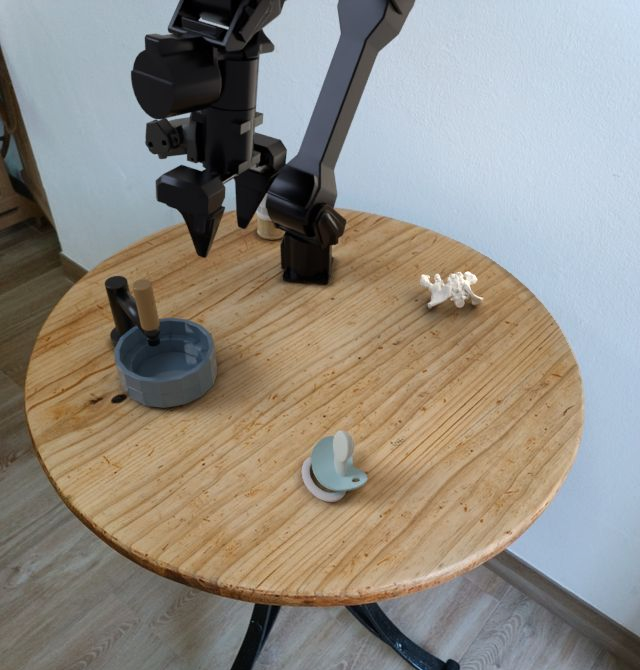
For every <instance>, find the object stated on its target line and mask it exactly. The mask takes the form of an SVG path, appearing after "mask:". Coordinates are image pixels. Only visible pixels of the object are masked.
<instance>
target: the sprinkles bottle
mask: <svg viewBox="0 0 640 670" xmlns="http://www.w3.org/2000/svg"><path fill="white" fill-rule="evenodd" d="M267 194H268V193H266V195H265V197H264V198H263V200H262V202H261V203H260V205H259V207H258V209H257V211H256V212H255V215H256V220H257V229H256V233H257V235H258V236H259V237H260V238H262V239H266V240H271V241H273V240H278V239H282V238H283V235H284V234H285V231H283V230H280V229H276V228H274V225H273V223H272V220H271V219H270V218H269V216H268V211H267V209H266V207H265V204H266V197H267Z"/></svg>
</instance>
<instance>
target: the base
mask: <svg viewBox="0 0 640 670" xmlns="http://www.w3.org/2000/svg"><path fill="white" fill-rule="evenodd" d="M109 338H110V340H111V345H112V346H113V348H115V347H116V345H117V343H118V341H119V339H120V337H119V336H118V335H117V331H116V327H113V328H112V329H111V331H110V334H109Z"/></svg>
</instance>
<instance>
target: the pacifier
mask: <svg viewBox="0 0 640 670" xmlns="http://www.w3.org/2000/svg"><path fill="white" fill-rule="evenodd" d="M354 451H355V440H354V438H353V436H352V435H351V434H350V433H349V432H348V431H346V430H338V431H336V432H335V434H334V435H328V436H325V437H323V438H321V439H320V440H319V441H317V442H316V444H315V445H314V446H313V448H312V451H311V454H310V455H311V456H308V457H307V458H306V459H305V460H304V461H303V463H302V466H301V478H302V481H303V483H304V485H305V487H306V488H307V490H308V491H309V493H310V494H312V495H313V496H314V497H316V498H317V499H318V500H321V501H324V502H327V503H335V502H338V501H340V500H342V499H343V497H344V496H345V495H346V493H347V492H349V491H353V490H357V489H360V488H362V487H363V486H364V485H365V484H366V483H367V481H368V475H367V473H366V472H365V471H363V469H361V468H359V467H356V466H354V465H353V462H354V456H353V454H354ZM311 469H312V472H313V474H314V477H315V478H316V480H317V481H318V483H320V485H321V486H322V487H324V488H326V489H328V490H330V491H333V492H327V491H324V490H322V489H321V488H319V487H318V486H317V485H316V484H315V482H314V480H313V479H312V476H311ZM353 480H358V481H353Z"/></svg>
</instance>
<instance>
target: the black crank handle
mask: <svg viewBox="0 0 640 670" xmlns="http://www.w3.org/2000/svg"><path fill="white" fill-rule="evenodd" d="M131 287H132V291H133V295H134V296H133V295H132V294H131V291H130V287H129V282H128V279H127V278H126V277H125V276H122V275H113V276H110V277H108V278H107V279H106V280H105V281H104V288H105V291H106V294H107V299H108V303H109V307H110V311H111V315H112V319H113V323H114V326H115V327H116V331H117V335H118V336H119V337H120V338H121V337H122V336H123V335H124V334H125V333H127V332H128V331H129V330H130V329H132V328H133V327H135V326H137V327H138V328H139V329H140V330H141V331H142V333H143V334H144V335H145V336H146V337H147V342H148V345H149V346H152V347H155V346H158V345H159V344H160V337H159V334H160V328H159V325H160V323H159V319H160V318H159V313H158V309H157V303H156V298H155V293H154V292H155V291H154V288H153V283H152V281H151V280H150V279H147V278H141V279H137V280H135V281H134V282H133V283H132V286H131ZM115 327H114V328H115Z"/></svg>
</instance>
